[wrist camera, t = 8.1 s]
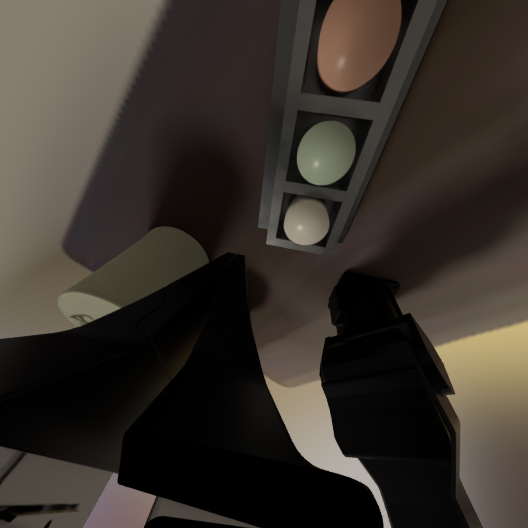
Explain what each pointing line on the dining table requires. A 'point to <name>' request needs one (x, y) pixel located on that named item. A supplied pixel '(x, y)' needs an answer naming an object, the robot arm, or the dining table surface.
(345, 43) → the brown egg
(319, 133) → the green rounded piece
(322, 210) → the white egg
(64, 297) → the can
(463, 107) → the dining table surface
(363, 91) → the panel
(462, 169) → the dining table surface
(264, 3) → the dining table surface
